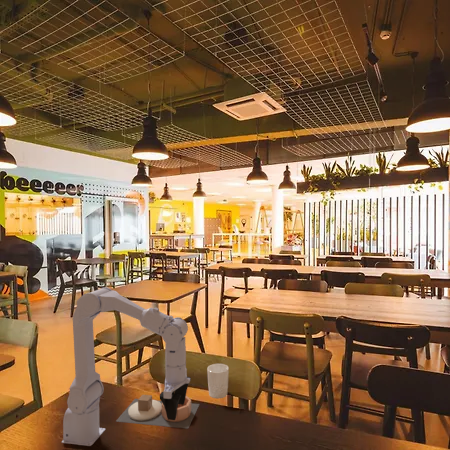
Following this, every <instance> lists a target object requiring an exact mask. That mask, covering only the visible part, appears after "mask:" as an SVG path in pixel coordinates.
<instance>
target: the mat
mask: <svg viewBox="0 0 450 450" xmlns="http://www.w3.org/2000/svg"><path fill="white" fill-rule="evenodd" d="M138 399H139V398H134V399H133V400H132V402H131V403H130V404H129V405H128V406H127V407H126V408H125V410H124V411H123V412H122V414H120V416H119V417H118V418H117V419H116V420H115V422H119V423H129V424H137V425H147V426H157V427H158V426H159V427H169V428H177V429H178V428H179V429H186V430H187V429H189V428H190V426H191V423H192V422H193V419H194V418H195V415H196V413H197V411H198V409H199V406H200V405H201V404H200V403H192V402H191V413H190V416H189V417H188V418H187V419H185V420H183V421H179V422H170V421H167V420H165V419H164V418H163V416H162V411H161V413H160V414H159V415H158V416H156V417H155V418H152V419H149V420H144V421H137V420H133V419H131V418H130V417H129V415H128V409H129V407H130V406H131V405H133V404H134V403H136V402H138ZM155 400H156V399H155ZM156 401H159V402H160V403H161V404H162V401H161V400H158V399H157V400H156Z"/></svg>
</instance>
